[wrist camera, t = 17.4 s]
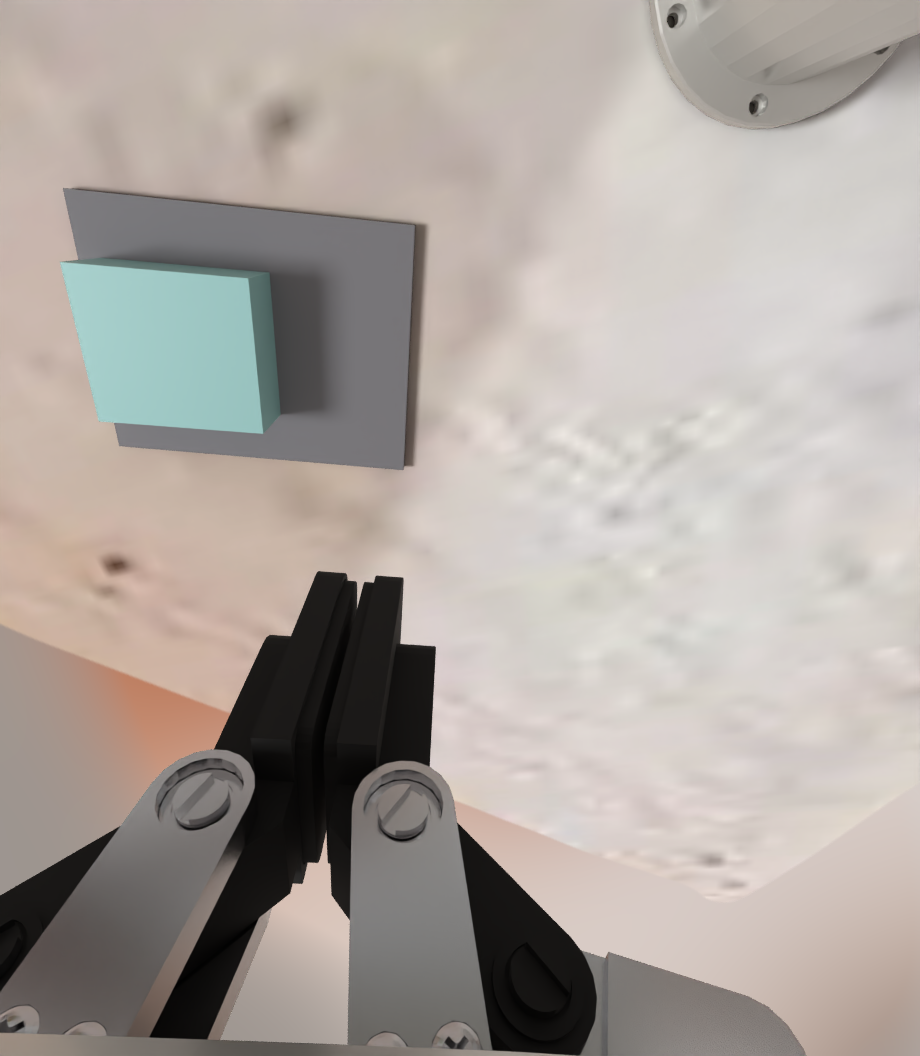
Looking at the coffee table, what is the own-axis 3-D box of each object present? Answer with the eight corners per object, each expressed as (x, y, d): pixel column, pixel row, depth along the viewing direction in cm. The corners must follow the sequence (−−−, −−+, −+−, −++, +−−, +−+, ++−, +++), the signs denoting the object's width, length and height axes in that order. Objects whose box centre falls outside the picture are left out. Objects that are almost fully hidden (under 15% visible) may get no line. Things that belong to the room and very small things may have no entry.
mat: (70, 188, 29) (62, 188, 28) (415, 225, 30) (414, 225, 29) (124, 442, 36) (119, 445, 35) (404, 466, 36) (403, 469, 36)
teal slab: (269, 272, 30) (98, 257, 30) (248, 278, 27) (56, 261, 27) (280, 414, 34) (129, 403, 34) (263, 433, 31) (96, 421, 31)
